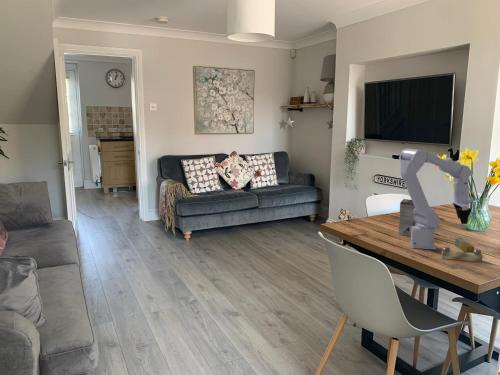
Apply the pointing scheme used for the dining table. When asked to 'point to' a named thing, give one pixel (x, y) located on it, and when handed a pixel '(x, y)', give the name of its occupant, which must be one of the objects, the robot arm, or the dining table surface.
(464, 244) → the medication box
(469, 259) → the bench stop
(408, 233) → the coffee box
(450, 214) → the dining table surface
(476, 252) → the bench dogs
